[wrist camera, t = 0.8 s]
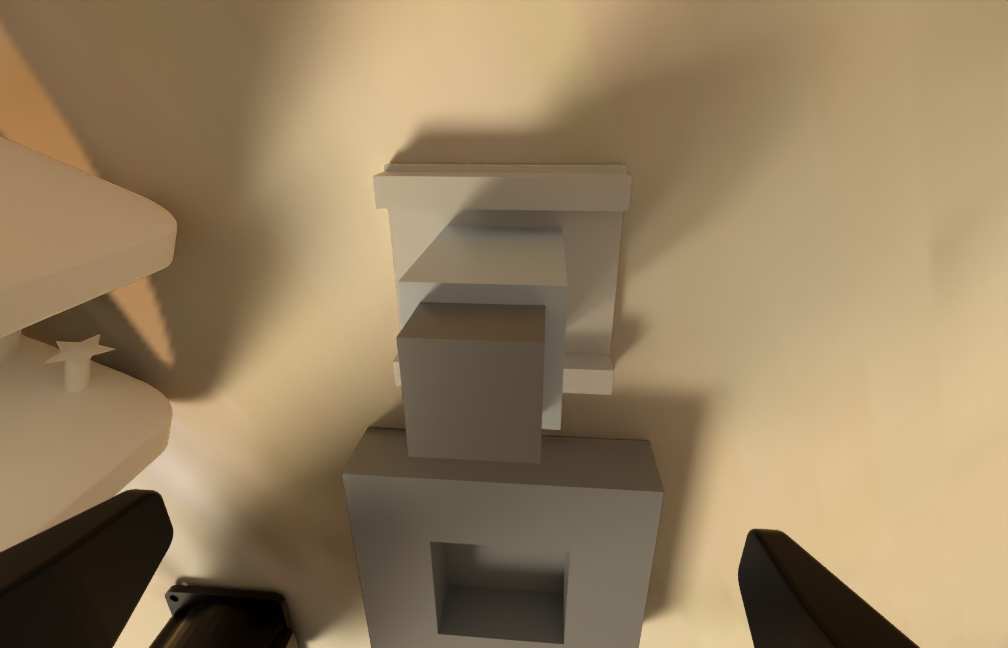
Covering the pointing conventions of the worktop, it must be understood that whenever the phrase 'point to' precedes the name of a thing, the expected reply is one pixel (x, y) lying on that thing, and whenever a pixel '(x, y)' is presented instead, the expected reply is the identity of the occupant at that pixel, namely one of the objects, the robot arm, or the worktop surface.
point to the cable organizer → (69, 370)
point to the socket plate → (504, 544)
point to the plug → (484, 343)
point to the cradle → (524, 203)
